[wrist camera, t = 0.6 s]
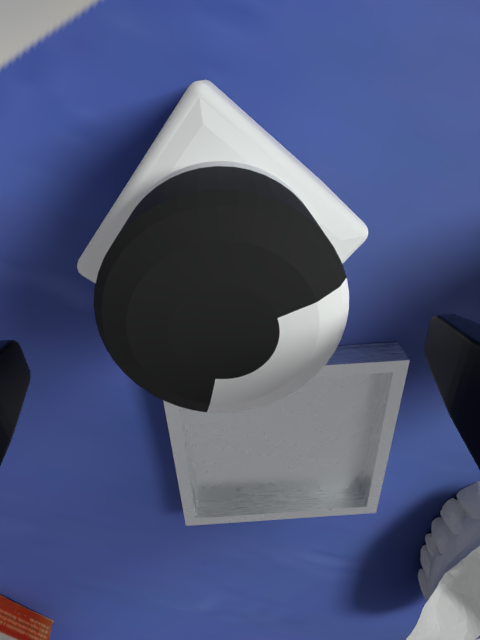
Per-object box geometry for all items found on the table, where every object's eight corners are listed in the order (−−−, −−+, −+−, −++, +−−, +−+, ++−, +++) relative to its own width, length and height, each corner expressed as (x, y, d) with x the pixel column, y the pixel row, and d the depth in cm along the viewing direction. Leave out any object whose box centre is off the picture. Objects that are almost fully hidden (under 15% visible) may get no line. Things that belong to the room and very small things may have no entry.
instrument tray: (397, 342, 24) (409, 360, 23) (368, 491, 31) (376, 512, 30) (162, 355, 24) (158, 375, 22) (187, 503, 31) (186, 525, 30)
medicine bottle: (116, 211, 19) (2, 362, 9) (203, 75, 17) (182, 72, 6) (233, 291, 22) (247, 481, 12) (325, 184, 19) (450, 308, 9)
